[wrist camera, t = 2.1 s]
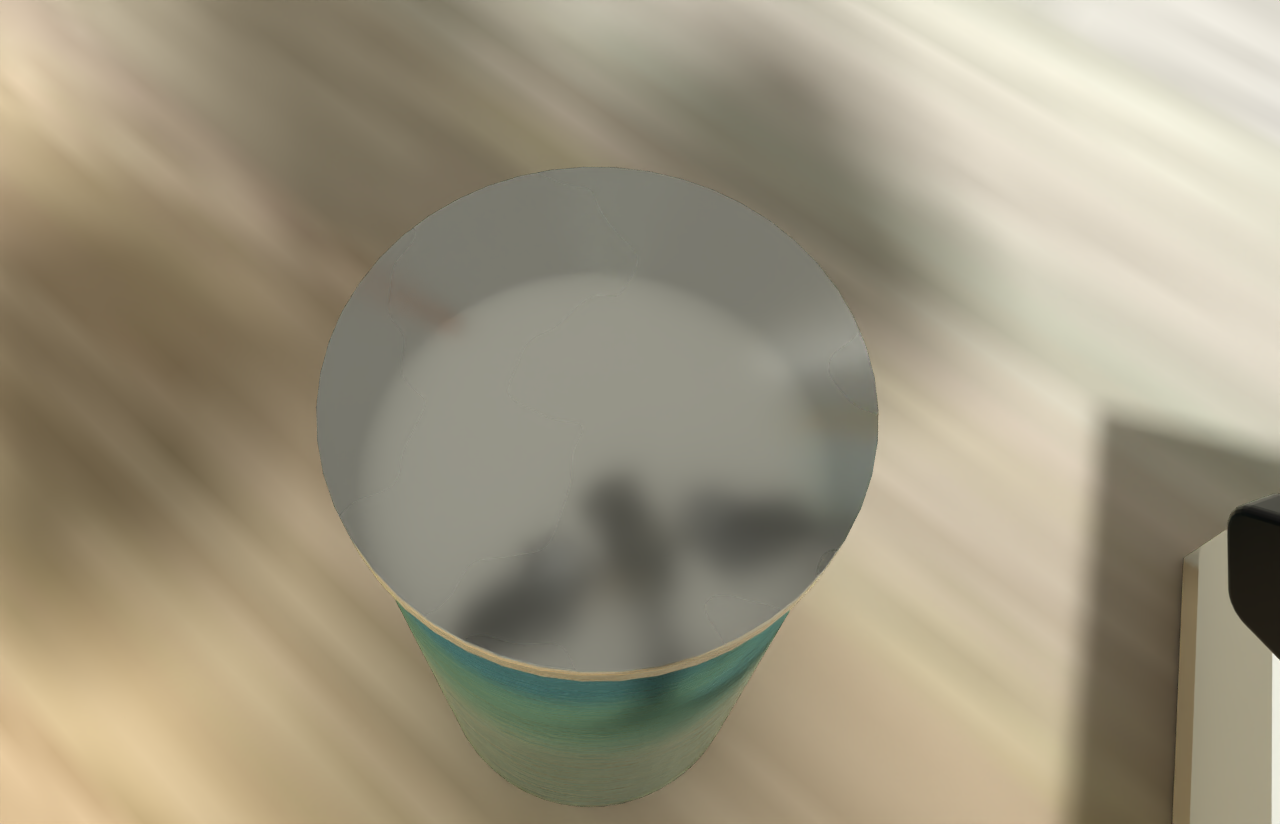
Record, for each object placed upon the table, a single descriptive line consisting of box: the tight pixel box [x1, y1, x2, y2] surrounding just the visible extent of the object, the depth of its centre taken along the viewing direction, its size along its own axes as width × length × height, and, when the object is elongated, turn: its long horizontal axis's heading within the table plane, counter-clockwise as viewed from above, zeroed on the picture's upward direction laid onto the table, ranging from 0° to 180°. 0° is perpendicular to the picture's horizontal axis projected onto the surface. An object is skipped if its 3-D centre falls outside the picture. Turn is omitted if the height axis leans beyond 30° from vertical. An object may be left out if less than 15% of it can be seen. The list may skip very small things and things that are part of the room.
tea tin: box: [316, 167, 878, 807], centre depth 15 cm, size 5×5×10 cm
